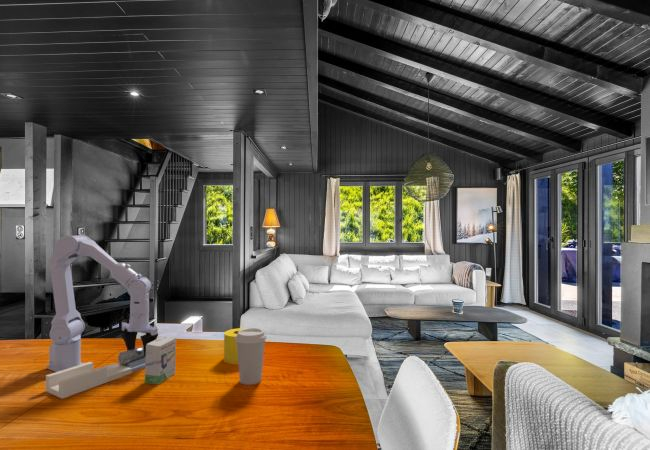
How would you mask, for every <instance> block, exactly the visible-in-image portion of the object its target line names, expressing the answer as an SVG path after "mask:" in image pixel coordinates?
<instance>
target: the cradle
mask: <svg viewBox="0 0 650 450" xmlns="http://www.w3.org/2000/svg"><path fill="white" fill-rule="evenodd" d="M145 360H146V357H144V358H141V359H138V360H135V361H132V362H129V363H127V364H124V365H123V366H126V367H129V368H132V373H134V372H137V371H139V370H142V369H144V368H145ZM119 364H120V363H119ZM120 365H121V364H120Z"/></svg>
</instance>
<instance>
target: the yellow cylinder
mask: <svg viewBox="0 0 650 450" xmlns="http://www.w3.org/2000/svg"><path fill="white" fill-rule="evenodd" d="M243 329H246V328H245V327H244V328H242V327H241V328H240V327H239V328H238V327H237V328H231V329H229V330H225V331H224V332H223V333H224V334H223V338H224V339H223V360H224V362H225V363H227V364H233V365H239V364H238V351H237V342H236V341H235V337H236V335H237V334H238V331H240V330H243Z"/></svg>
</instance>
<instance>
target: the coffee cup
mask: <svg viewBox="0 0 650 450" xmlns="http://www.w3.org/2000/svg"><path fill="white" fill-rule="evenodd" d="M266 340H267V334H266V333H265V331H264V329H262V328H255V327H251V328H245V329H243V330H240V331H238V334H237V335H236V337H235V341H236V342H237V351H238V364H237V365H238V375H239V376H238V377H239V383H240V384H242V385H246V386H251V385H257V384H259V383H260V382H261V381H262V376H263V375H262V374H263V365H264V351H265V343H266Z"/></svg>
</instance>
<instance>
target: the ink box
mask: <svg viewBox="0 0 650 450" xmlns="http://www.w3.org/2000/svg"><path fill="white" fill-rule="evenodd" d="M176 349H177V338H176V337H169V336H161V337H158V338H156V340H154V341H152V342H150V343H148V344H147V345H146V360H145V369H144V384H153V385H157V386H158V385H160V384H161V383H163V382H164V381H166V380H168V379H169V378H170V377H172V376H174V375H175V374H176V359H177V351H176Z"/></svg>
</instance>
